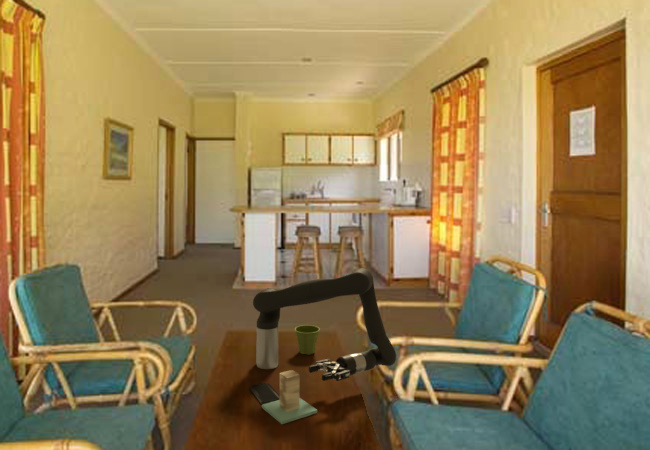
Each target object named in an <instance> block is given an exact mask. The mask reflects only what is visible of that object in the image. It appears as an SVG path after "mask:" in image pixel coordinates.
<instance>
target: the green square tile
mask: <svg viewBox="0 0 650 450" xmlns="http://www.w3.org/2000/svg"><path fill="white" fill-rule="evenodd" d="M261 409H263V410H264V411H265V412H266V413H267V414H268V415H270V416H271V417H272V418H273V419H275V420H276V421H277V422H278V423H279V424H280V425H284V424H287V423H291V422H293V421H296V420H299V419H302V418H306V417H309V416H311V415H316V414H317V413H318V409H317V408H315V407H314V406H313V405H311V404H310V403H308V402H307V401H305V400H304V399H302V398H301V397H300V396H299V408H298V409H295V410H292V411H289V412H286V411H285V410H283V409H282V408H281V407H280V400H277V401H273V402H272V401H271V402H270V403H267V404H261Z"/></svg>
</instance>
